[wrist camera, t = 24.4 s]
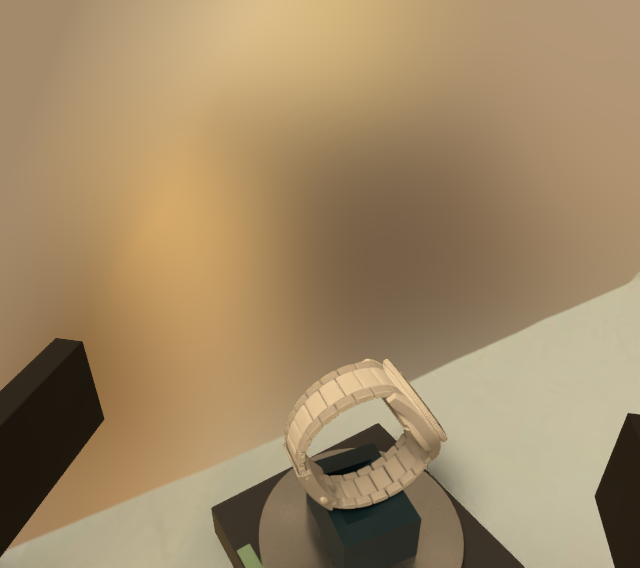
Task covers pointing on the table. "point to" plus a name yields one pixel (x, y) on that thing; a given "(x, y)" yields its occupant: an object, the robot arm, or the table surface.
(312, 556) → the scale pan
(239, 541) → the scale
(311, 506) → the watch
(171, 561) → the table surface
